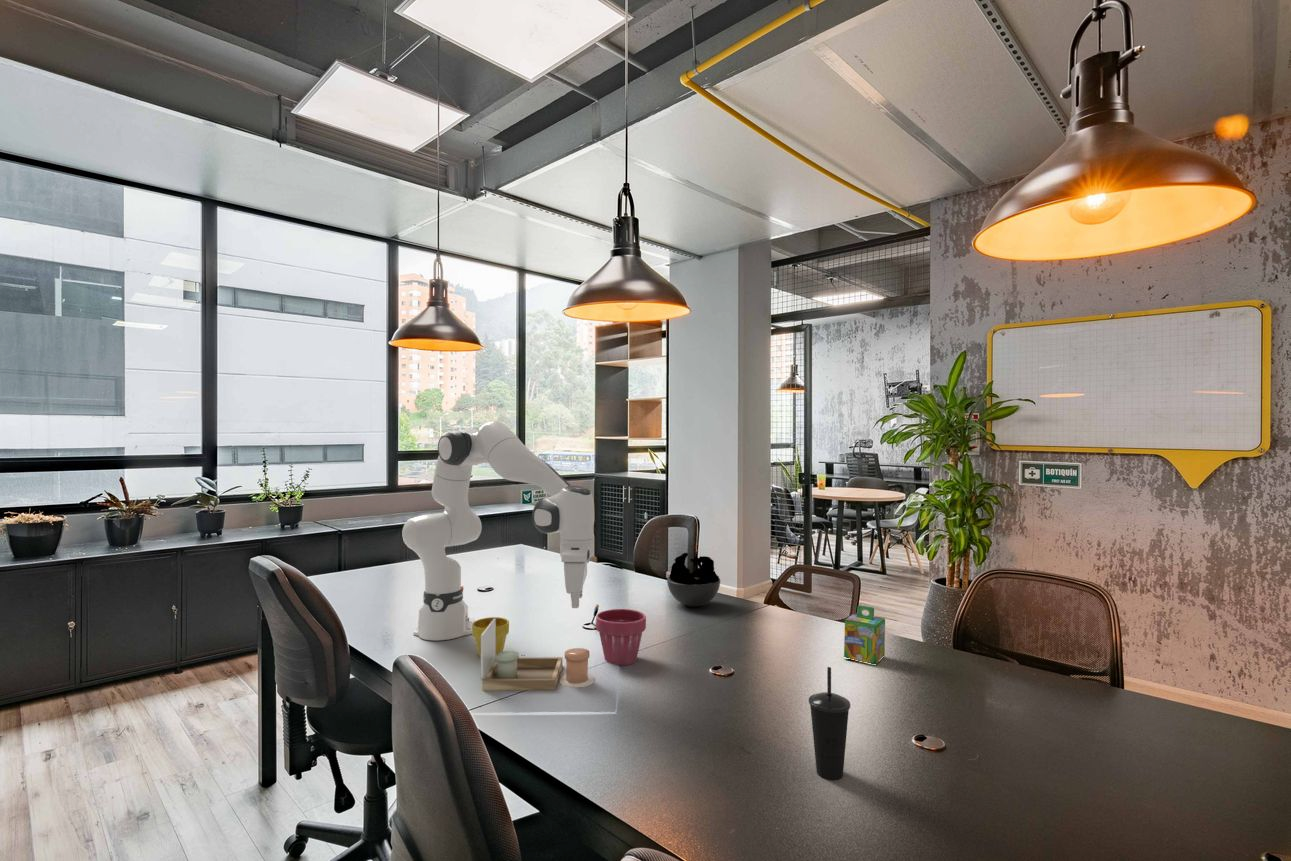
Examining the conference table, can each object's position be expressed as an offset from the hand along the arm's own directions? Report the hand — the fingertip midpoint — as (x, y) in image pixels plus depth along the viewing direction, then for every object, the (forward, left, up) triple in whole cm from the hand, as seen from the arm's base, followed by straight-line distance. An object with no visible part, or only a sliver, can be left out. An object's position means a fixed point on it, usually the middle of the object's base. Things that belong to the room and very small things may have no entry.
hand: (577, 602), depth 161 cm
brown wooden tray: (-2, -14, -21) cm, 25 cm away
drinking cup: (+44, +52, -21) cm, 71 cm away
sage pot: (-2, -18, -20) cm, 27 cm away
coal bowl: (-72, +37, -21) cm, 84 cm away
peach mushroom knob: (0, 0, -20) cm, 20 cm away
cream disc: (0, 0, -21) cm, 21 cm away
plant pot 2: (-16, +11, -21) cm, 29 cm away
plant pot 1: (-20, -27, -21) cm, 40 cm away
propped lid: (-2, -23, -18) cm, 30 cm away
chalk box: (-16, +81, -21) cm, 85 cm away
